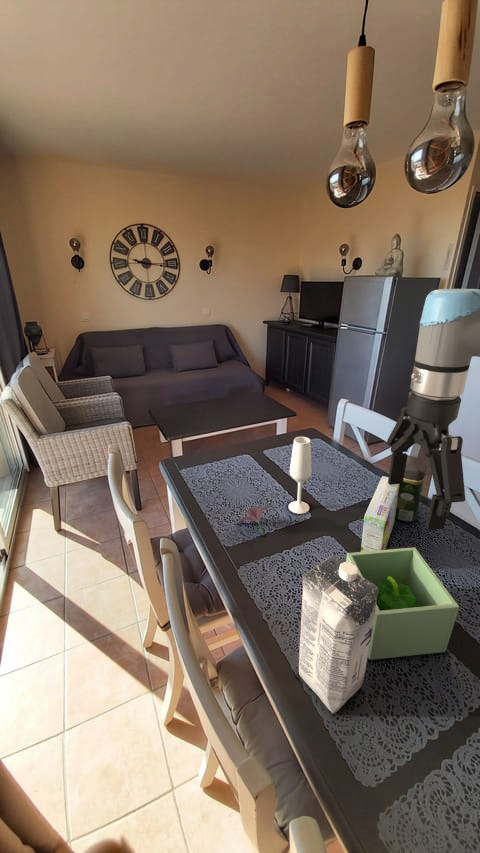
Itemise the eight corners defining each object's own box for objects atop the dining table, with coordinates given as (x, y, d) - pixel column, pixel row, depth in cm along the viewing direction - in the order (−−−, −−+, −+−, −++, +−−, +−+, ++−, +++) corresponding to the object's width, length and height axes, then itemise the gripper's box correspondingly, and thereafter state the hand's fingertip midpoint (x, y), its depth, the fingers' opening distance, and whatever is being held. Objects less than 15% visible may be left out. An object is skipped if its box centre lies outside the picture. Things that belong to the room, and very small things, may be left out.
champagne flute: (286, 511, 114) (288, 443, 104) (290, 499, 120) (292, 434, 110) (308, 515, 112) (312, 446, 102) (310, 502, 118) (314, 436, 108)
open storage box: (406, 588, 86) (414, 547, 81) (445, 652, 72) (459, 606, 66) (342, 594, 85) (346, 553, 80) (369, 660, 71) (377, 614, 65)
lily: (280, 521, 111) (269, 492, 111) (282, 533, 99) (270, 501, 99) (243, 534, 112) (233, 505, 112) (241, 547, 100) (229, 515, 100)
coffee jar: (391, 501, 117) (399, 451, 110) (418, 508, 114) (428, 456, 106) (386, 518, 109) (395, 465, 102) (415, 526, 106) (426, 471, 98)
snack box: (375, 517, 110) (381, 474, 104) (394, 522, 108) (402, 479, 101) (357, 562, 94) (363, 515, 88) (379, 570, 91) (388, 522, 85)
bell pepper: (418, 637, 74) (427, 602, 70) (378, 637, 74) (384, 602, 70) (402, 602, 82) (410, 569, 78) (366, 602, 82) (371, 569, 78)
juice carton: (334, 725, 61) (349, 612, 50) (291, 673, 69) (296, 566, 58) (367, 691, 65) (387, 581, 55) (323, 646, 73) (333, 542, 62)
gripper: (377, 373, 68) (365, 470, 77) (463, 425, 46) (432, 554, 54) (416, 371, 69) (399, 467, 77) (519, 422, 46) (479, 550, 55)
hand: (412, 503), depth 66 cm, fingers open, 13 cm apart
